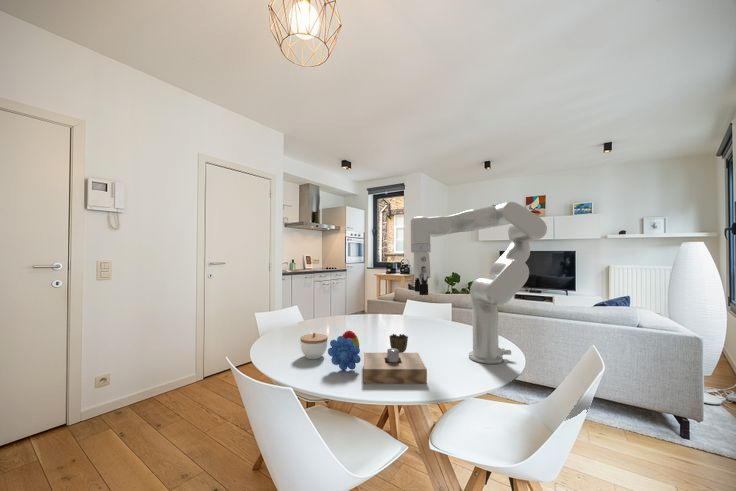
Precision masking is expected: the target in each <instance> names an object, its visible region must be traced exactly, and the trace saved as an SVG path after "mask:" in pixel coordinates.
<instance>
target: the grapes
mask: <svg viewBox="0 0 736 491" xmlns="http://www.w3.org/2000/svg"><path fill="white" fill-rule="evenodd" d="M353 345H354V341H353V340H352V339H350V338H348V339H346V341H345V338H344V337H343V336H342V335H339V336H337V338H336V339H331V340H330V342H329V346H330V347H329V348H328V350H327V354H328V355H329V357H331V360H330V361H331V363H332V364H333V365H334V366H338V367H339V369H340V370H341V371H346V370H347V369H349V370H355V368H356V367H357V366H356V364H359V363H360V362H361V356H360V355H359V354H360V351H361V350H360V346H359V347H358V346H355V345H354V346H353Z"/></svg>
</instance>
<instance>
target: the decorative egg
mask: <svg viewBox="0 0 736 491" xmlns="http://www.w3.org/2000/svg"><path fill="white" fill-rule="evenodd" d="M341 336H343V337H344V338H345V341H346V339H348V338H350V339H352V340H353V341H354V345H355V346H358V347H359V348H360V342H359V341H360V340H359V338H358V336H357V334H356V333H355V332H354V331H352V330H346V331H345V332H344V333H343V334H342V335H341ZM354 345H353V346H354Z"/></svg>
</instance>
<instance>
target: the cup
mask: <svg viewBox="0 0 736 491" xmlns="http://www.w3.org/2000/svg"><path fill="white" fill-rule="evenodd" d="M408 338H409V336H408V335H405V334H402V333H399V335H397V334H396V333H392V334H390V335H389V345H390V348H395V349H398V350H399V353H405V351H406V350H407V347H408Z"/></svg>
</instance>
